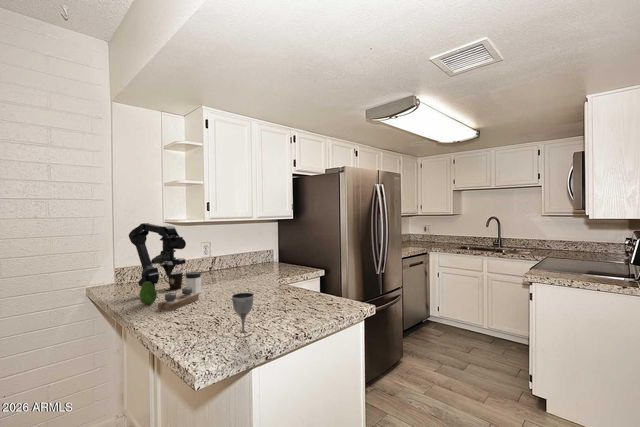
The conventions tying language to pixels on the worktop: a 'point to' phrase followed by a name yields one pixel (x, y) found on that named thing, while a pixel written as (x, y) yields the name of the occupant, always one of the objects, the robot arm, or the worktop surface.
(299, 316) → the worktop surface
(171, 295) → the knob
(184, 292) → the knob
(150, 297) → the avocado
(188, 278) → the jar
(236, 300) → the wine glass
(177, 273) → the coffee mug
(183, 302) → the knob panel
